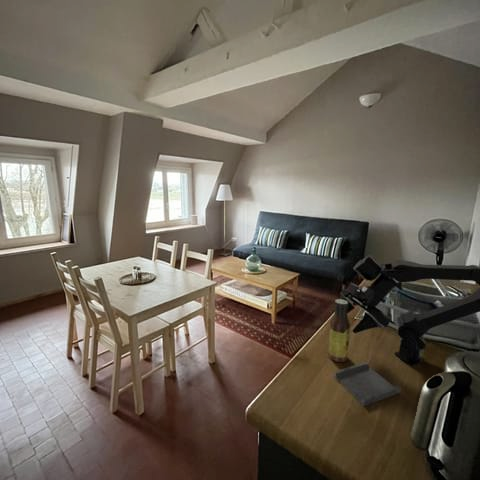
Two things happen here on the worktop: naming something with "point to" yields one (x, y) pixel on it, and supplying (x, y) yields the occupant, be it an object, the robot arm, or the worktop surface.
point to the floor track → (365, 383)
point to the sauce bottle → (339, 332)
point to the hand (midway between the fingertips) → (345, 324)
